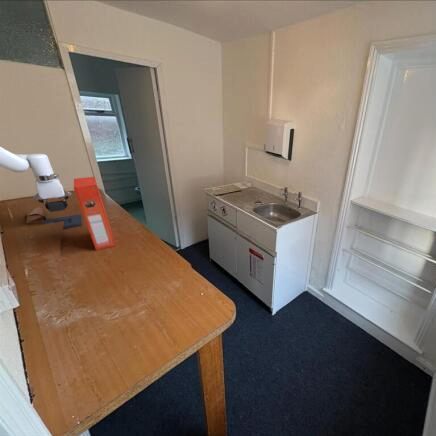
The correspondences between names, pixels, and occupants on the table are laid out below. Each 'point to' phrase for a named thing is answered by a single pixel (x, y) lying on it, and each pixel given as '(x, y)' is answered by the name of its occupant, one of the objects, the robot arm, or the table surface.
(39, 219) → the sunglasses case
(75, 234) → the table surface
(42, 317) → the table surface
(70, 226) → the socket pad
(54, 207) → the black pad
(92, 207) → the file binder
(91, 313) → the table surface
